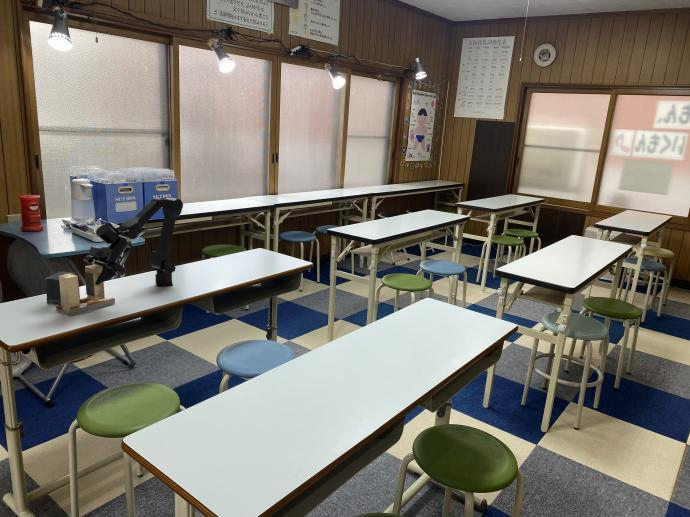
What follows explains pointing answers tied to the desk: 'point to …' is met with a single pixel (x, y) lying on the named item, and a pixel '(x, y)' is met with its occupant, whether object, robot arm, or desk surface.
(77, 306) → the rail
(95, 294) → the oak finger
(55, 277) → the small box
